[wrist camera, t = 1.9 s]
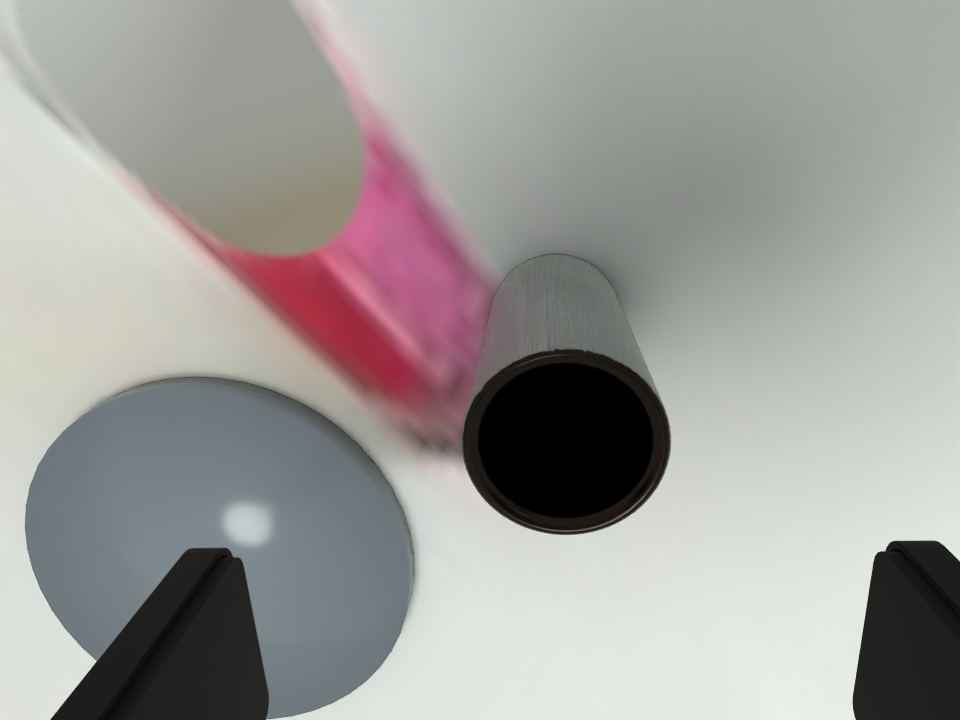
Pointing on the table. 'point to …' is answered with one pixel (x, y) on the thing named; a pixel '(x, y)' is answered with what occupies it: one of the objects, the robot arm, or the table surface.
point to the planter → (563, 404)
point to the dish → (226, 527)
